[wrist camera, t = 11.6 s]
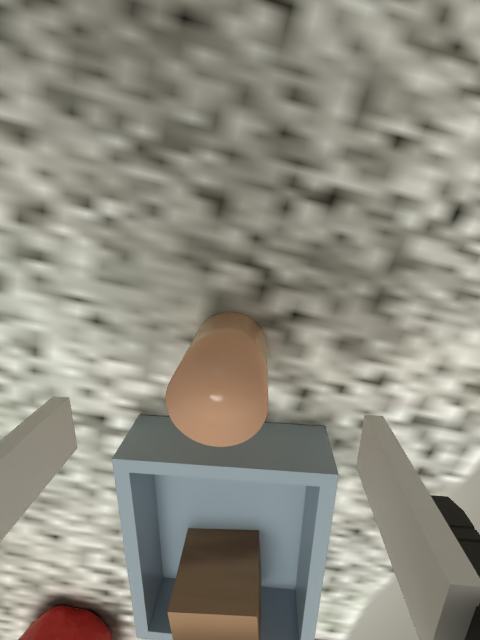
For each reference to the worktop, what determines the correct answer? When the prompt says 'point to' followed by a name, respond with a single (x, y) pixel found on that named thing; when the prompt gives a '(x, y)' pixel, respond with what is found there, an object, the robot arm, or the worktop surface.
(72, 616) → the pomegranate
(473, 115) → the worktop surface
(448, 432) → the worktop surface
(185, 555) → the walnut cube
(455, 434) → the worktop surface
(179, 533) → the tote
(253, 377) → the terracotta cylinder
